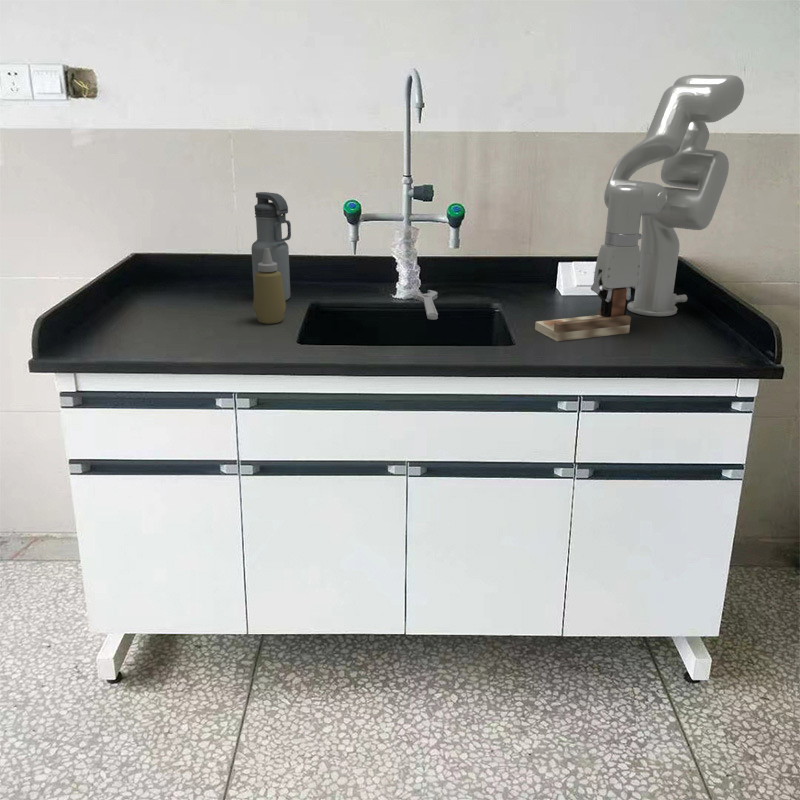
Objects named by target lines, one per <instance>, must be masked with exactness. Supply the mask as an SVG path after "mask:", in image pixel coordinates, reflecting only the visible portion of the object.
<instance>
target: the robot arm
mask: <svg viewBox="0 0 800 800" xmlns="http://www.w3.org/2000/svg"><path fill="white" fill-rule="evenodd" d="M744 94H745V86H744V82H743V79H741V77H739V75H733V74H725V75H724V74H689V75H684V76H681V77H679V78H677V79H676V80H675V81H674V83H673V85H671V86H669V87H668V88H667V89H666V90H665V91H663V94H662V96H661V98H660V101H659V103H658V106H657V108H656V110H655V113H654V115H653V118H652V120H651V123H650V125H649V128H648V130H647V133H646V136H645V138H644V139H643V140H642V141H640V142H639V143H637V144H636V145H634V146H633V147H631V149H629V150H628V151H627V152H625V153H624V155H622V156H621V157H620V158H619V159H618V160H617V162H616V164H615V166H614V167H613V169H612V171H611V174H610V177H609V179H608V181H607V184H606V186H605V187H606V188H605V191H604V195H603V196H604V197H603V199H604V204H605V206H606V208H608V209H607V215H606V216H607V217H606V227H605V228H606V229H605V236H604V244H600V248H599V251H598V254H597V257H596V263H595V267H594V268H595V269H594V275H593V284H592V285H591V286H590V290H591V291H592V292H594V293H595V294H596V295H597V296H598V297H599V299H600V300H601V304H600V309H601V315H602V316H604V317H611V308H612V302H611V301H610V299H611V295H612V291H613V289H618V288H626V289H627V294H626V302H625V311H624V315H627V310H628V311H629V312H631V313H634V314H638V315H642V316H648V317H669V316H674V315H675V314H678V307H677V306H676V304H678V303H685V302H687V301H688V296H687V295H686V294H678V295H677V293H674V289H675V282H676V274H677V267H678V261H679V253H680V239H679V238H678V235H677V233H676V231H675V228H676V229H683V230H684V229H685V230H691V231H703V230H705V229H706V228H708V226H710V224H711V221H712V220H713V217H714V215H715V212H716V210H717V207H718V204H719V202H720V200H721V199H720V198H721V196H722V193H723V191H724V188H725V185H726V183H727V180H728V175H729V169H730V168H729V167H730V163H729V162H730V161H729V158H728V156H727V155H726V153H724V152H722V151H720V150H716V149H706V147H707V145H708V142H709V140H710V132H709V131H710V130H709V128H708V125H707V124H706V123H716V122H719V121H721V120H722V119H724V118H725V117H728V116H729V115H730V114H732V113H734V112H735V111H736V110H737V109H738V107H739V106H740V105H741V103H742V100H743V98H744ZM661 161H663V163H662V166H661V170H660V178H661V180H662V182H663V183H664V184H666V185H668V186H662V185H661V184H659V183H656V182H650V181H641V180H640V181H639V180H630V178H631V177H632V176H633V175H634V174H635V173H636V172H637V171H639V170H641V169H643V168H644V167H646V166H650V165H653V164H655V163H658V162H661ZM641 225H642V226H641ZM640 229H641V233H640ZM639 240H640V245H639V244H638V243H639ZM606 291H607V293H606ZM632 295H634V296H633V297H634V299H633V301H630V302H629V300H631V297H632Z"/></svg>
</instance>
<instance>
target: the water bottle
mask: <svg viewBox="0 0 800 800" xmlns="http://www.w3.org/2000/svg"><path fill="white" fill-rule="evenodd" d="M255 198H257V199H256V200H257V201H256V202H257V203H256V204H255V205H254V215H255V216H254V218H255V224H256V240H255V241H254V242H253V243H252V245H251V249H250V250H251V266H252V281H253V282H252V284H253V287H254V281H255V274H256V273H257V272H258V263H261V262H262V260H263V254H264V248H269V249H270V253H271V257H272V261H273V262H276V263H277V271H279V272H280V273H281V275H282V282H283V289H284V296H285V302H287V301H288V300H289V299H290V298H291V281H290V280H291V279H290V278H291V277H290V276H291V273H290V257H289V256H290V255H289V253H290V252H289V251H290V250H289V245H288V243H287V242H286V241H290V239H291V237H292V226H291V221H290V220H287V219H286V217H287V215H286V214H288V213H289V207H288V204H287V200H286V199H285V198H284V197H283V196H282V195H280V194H279V193H276V192H268V191H267V192H266V191H258V192H255ZM270 201H271V202H270ZM282 224H286V225H287V235H286V237H284V238H283V234H282V233H283V232H282V229H283V228H282V227H283V226H282Z"/></svg>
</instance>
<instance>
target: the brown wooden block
mask: <svg viewBox="0 0 800 800" xmlns="http://www.w3.org/2000/svg"><path fill="white" fill-rule="evenodd" d="M606 293H607V291H606ZM626 294H627V289H626V288H618V289H613V291H612V295H611V299H610V301H611V302H612V308H611V317H615V316H624V311H625V302H626ZM597 315H599V316H602V315H601V308H598V314H597ZM602 318H606V317H604V316H602Z"/></svg>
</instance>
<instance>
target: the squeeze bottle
mask: <svg viewBox="0 0 800 800" xmlns="http://www.w3.org/2000/svg"><path fill="white" fill-rule="evenodd" d="M252 308H253V312H254V313H255V316H256V318H257V321H258V322H259V323H262V324H268V325H269V324H270V325H271V324H277V323H281V322H282V321H283V319H284V315H285V311H286V309H287V303H286V301H285V296H284V289H283V282H282V275H281V273H280V272H279V271H277V263H276V262H273V261H272V257H271V253H270V249H269V248H264V254H263V260H262V262H261V263H258V272H257V273H256V274H255V281H254V286H253V305H252Z"/></svg>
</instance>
